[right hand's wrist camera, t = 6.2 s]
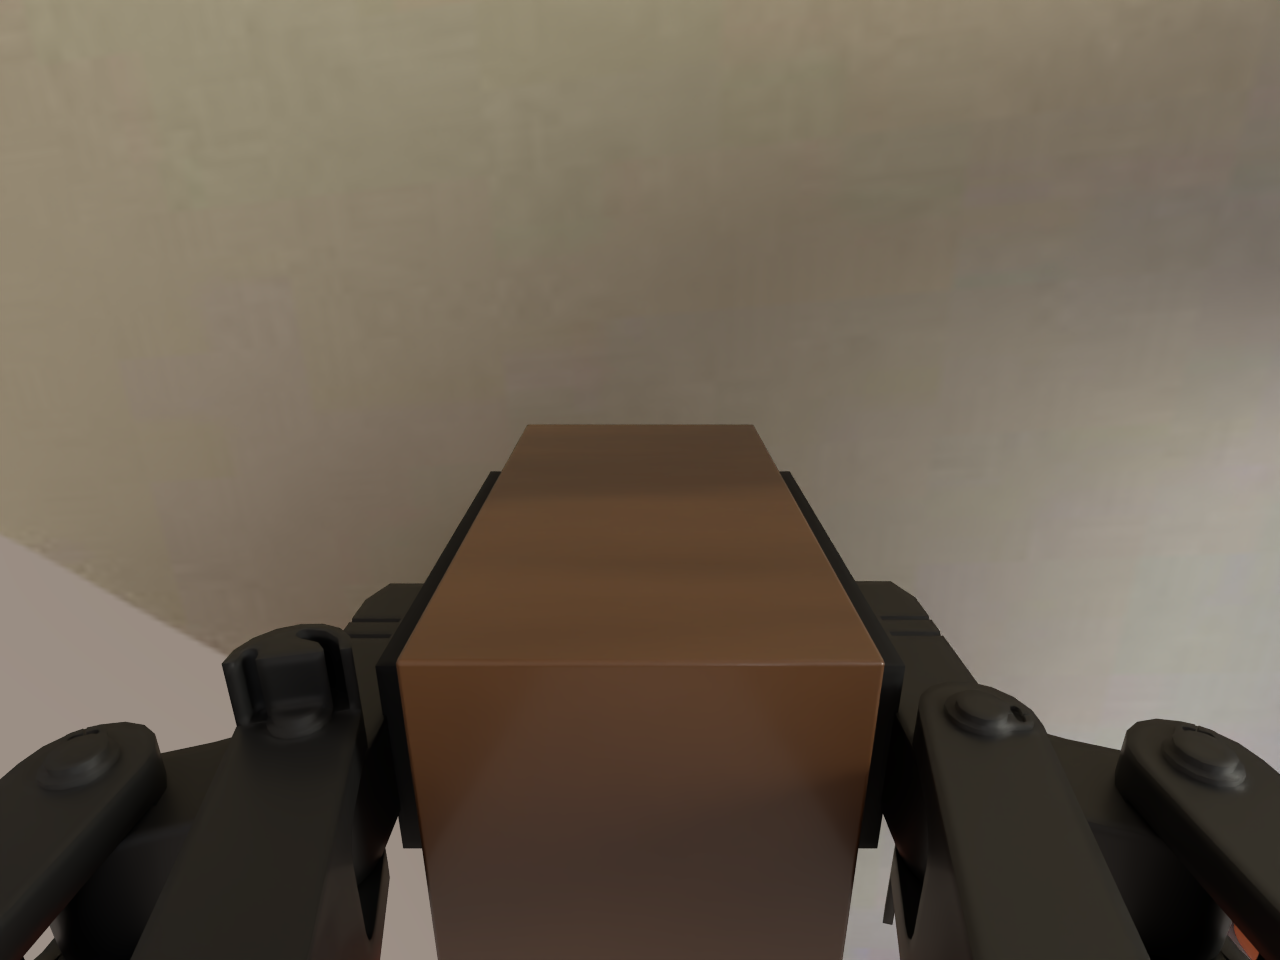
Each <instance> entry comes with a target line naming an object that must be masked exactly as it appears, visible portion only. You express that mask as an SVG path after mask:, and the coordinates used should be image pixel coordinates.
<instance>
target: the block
mask: <svg viewBox="0 0 1280 960" xmlns="http://www.w3.org/2000/svg"><path fill="white" fill-rule="evenodd" d="M884 665H885V663H884V660H883V658H882V657H881V655H880V653H879V651H878V649H877V648H876V646H875V644H874V642H873V640H872V639H871V637H870V635H869V633H868V631H867V630H866V628H865V626H864V624H863V622H862V621H861V619H860V617H859V615H858V613H857V612H856V610H855V608H854V606H853V604H852V602H851V601H850V599H849V597H848V595H847V593H846V592H845V590H844V588H843V586H842V584H841V583H840V581H839V579H838V577H837V575H836V574H835V572H834V570H833V568H832V566H831V565H830V563H829V561H828V559H827V557H826V556H825V554H824V552H823V550H822V548H821V547H820V545H819V543H818V541H817V539H816V537H815V536H814V534H813V532H812V530H811V528H810V527H809V525H808V523H807V521H806V519H805V518H804V516H803V514H802V512H801V510H800V509H799V507H798V505H797V503H796V501H795V500H794V498H793V496H792V494H791V492H790V491H789V489H788V487H787V485H786V483H785V481H784V480H783V478H782V476H781V474H780V472H779V471H778V469H777V467H776V465H775V463H774V462H773V460H772V458H771V456H770V454H769V453H768V451H767V449H766V447H765V445H764V444H763V442H762V440H761V438H760V436H759V435H758V433H757V431H756V429H755V427H754V426H753V425H527V427H526V428H525V430H524V432H523V434H522V436H521V438H520V439H519V441H518V443H517V445H516V447H515V448H514V450H513V452H512V454H511V456H510V457H509V459H508V461H507V463H506V465H505V466H504V468H503V470H502V472H501V474H500V475H499V477H498V479H497V481H496V483H495V484H494V486H493V488H492V490H491V492H490V493H489V495H488V497H487V499H486V501H485V502H484V504H483V506H482V508H481V510H480V511H479V513H478V515H477V517H476V519H475V520H474V522H473V524H472V526H471V528H470V529H469V531H468V533H467V535H466V537H465V538H464V540H463V542H462V544H461V546H460V547H459V549H458V551H457V553H456V555H455V556H454V558H453V560H452V562H451V564H450V565H449V567H448V569H447V571H446V573H445V574H444V576H443V578H442V580H441V582H440V583H439V585H438V587H437V589H436V591H435V593H434V594H433V596H432V598H431V600H430V602H429V603H428V605H427V607H426V609H425V611H424V612H423V614H422V616H421V618H420V620H419V621H418V623H417V625H416V627H415V629H414V630H413V632H412V634H411V636H410V638H409V639H408V641H407V643H406V645H405V647H404V648H403V650H402V652H401V654H400V656H399V657H398V659H397V662H396V668H397V675H398V682H399V689H400V696H401V703H402V710H403V717H404V724H405V731H406V738H407V745H408V752H409V759H410V766H411V773H412V780H413V787H414V794H415V801H416V808H417V815H418V823H419V830H420V837H421V844H422V851H423V858H424V865H425V872H426V879H427V886H428V893H429V900H430V907H431V914H432V921H433V928H434V935H435V942H436V949H437V956H438V960H842V959H843V952H844V945H845V938H846V931H847V924H848V917H849V910H850V903H851V896H852V889H853V882H854V875H855V868H856V861H857V854H858V847H859V840H860V833H861V826H862V819H863V812H864V805H865V798H866V791H867V784H868V777H869V770H870V763H871V756H872V749H873V742H874V735H875V728H876V721H877V714H878V707H879V700H880V693H881V686H882V679H883V672H884Z"/></svg>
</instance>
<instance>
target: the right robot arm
mask: <svg viewBox="0 0 1280 960" xmlns="http://www.w3.org/2000/svg"><path fill="white" fill-rule="evenodd" d="M500 474H501V472H490V474H489V475H488V477H487V479H486V481H485V482H484V484H483V486H482V487H481V489H480V491H479V492H478V494H477V496H476V497H475V499H474V501H473V502H472V504H471V506H470V507H469V509H468V511H467V512H466V514H465V516H464V517H463V519H462V521H461V522H460V524H459V526H458V528H457V529H456V531H455V533H454V534H453V536H452V538H451V539H450V541H449V543H448V544H447V546H446V548H445V549H444V551H443V553H442V554H441V556H440V558H439V559H438V561H437V563H436V564H435V566H434V568H433V570H432V571H431V573H430V575H429V576H428V578H427V580H426V581H425V583H424V584H389V585H387V586H386V587H384V588H383V589H381V590H380V591H378V592H377V593H375V594H374V595H372V596H371V597H369V598H368V599H366V600H365V602H364V603H363V604H362V606H361V607H360V609H359V610H358V611H357V613H356V614H355V615H354V617H353V618H352V622H349V624H348V625H347V626H346V628H345V629H344V631H343V630H342V629H340V628H338V627H334V626H329V625H325V624H299V625H294V626H289V627H285V628H280V629H276V630H273V631H270V632H268V633H265V634H262V635H260V636H257V637H255V638H253V639H251V640H249V641H248V642H246V643H244V644H243V645H241V646H240V647H238V648H236V649H235V650H234V651H233V652H232V653H231V654H230V655H229V656H228V657H227V658H226V659H225V661H224V662H223V663H222V667H223V671H224V675H225V679H226V684H227V688H228V692H229V696H230V700H231V704H232V708H233V712H234V716H235V720H236V725H237V727H236V729H235V731H234V734H233V736H232V737H231V738H228V739H224V740H221V741H217V742H213V743H208V744H203V745H199V746H194V747H189V748H185V749H180V750H175V751H170V752H166V753H160V750H159V746H158V743H157V739H156V736H155V734H154V733H153V732H152V731H151V730H150V729H148V728H147V727H146V726H145V725H141V724H135V723H129V722H119V723H110V724H101V725H97V726H92V727H88V728H87V729H81V730H78V731H75V732H72V733H70V734H68V735H66V736H64V737H62V738H60V739H58V740H56V741H54V742H52V743H50V744H47V745H45V746H43V747H42V748H40V749H39V750H37V751H36V752H34V753H33V754H32V755H30V756H29V757H27V758H26V759H24V760H23V761H22V762H20V763H19V764H18V765H16V766H15V767H14V768H13V769H12V770H11V771H9V772H8V773H7V774H6V775H5V776H4V777H2V778H1V779H0V960H25V959H24V957H23V956H24V955H25V954H26V952H27V951H28V950H29V949H30V948H31V947H32V945H33V944H34V943H35V942H36V941H37V939H38V938H39V937H40V936H41V935H42V934H43V932H44V931H45V930H46V929H47V928H48V927H49V925H50V928H51V930H52V932H53V935H54V937H55V938H54V939H53V940H52V941H51V942H50V944H49V945H48V946H47V947H46V948H45V950H44V951H43V952H42V953H41V954H40V955H39V956H38V957H36V958H35V959H34V960H380V955H381V946H382V938H383V929H384V921H385V913H386V904H387V896H388V887H389V879H390V876H389V869H388V861H387V855H386V849H385V847H386V844H387V842H388V840H389V837H390V835H391V832H392V830H393V827H394V825H395V822H396V820H397V817H399V824H400V830H401V836H402V843H403V848H422V844H421V837H420V830H419V823H418V815H417V808H416V801H415V794H414V787H413V780H412V773H411V766H410V759H409V752H408V745H407V738H406V731H405V724H404V717H403V710H402V703H401V696H400V689H399V682H398V675H397V668H396V662H397V659H398V657H399V656H400V654H401V652H402V650H403V648H404V647H405V645H406V643H407V641H408V639H409V638H410V636H411V634H412V632H413V630H414V629H415V627H416V625H417V623H418V621H419V620H420V618H421V616H422V614H423V612H424V611H425V609H426V607H427V605H428V603H429V602H430V600H431V598H432V596H433V594H434V593H435V591H436V589H437V587H438V585H439V583H440V582H441V580H442V578H443V576H444V574H445V573H446V571H447V569H448V567H449V565H450V564H451V562H452V560H453V558H454V556H455V555H456V553H457V551H458V549H459V547H460V546H461V544H462V542H463V540H464V538H465V537H466V535H467V533H468V531H469V529H470V528H471V526H472V524H473V522H474V520H475V519H476V517H477V515H478V513H479V511H480V510H481V508H482V506H483V504H484V502H485V501H486V499H487V497H488V495H489V493H490V492H491V490H492V488H493V486H494V484H495V483H496V481H497V479H498V477H499V475H500ZM780 474H781V476H782V478H783V480H784V481H785V483H786V485H787V487H788V489H789V491H790V492H791V494H792V496H793V498H794V500H795V501H796V503H797V505H798V507H799V509H800V510H801V512H802V514H803V516H804V518H805V519H806V521H807V523H808V525H809V527H810V528H811V530H812V532H813V534H814V536H815V537H816V539H817V541H818V543H819V545H820V547H821V548H822V550H823V552H824V554H825V556H826V557H827V559H828V561H829V563H830V565H831V566H832V568H833V570H834V572H835V574H836V575H837V577H838V579H839V581H840V583H841V584H842V586H843V588H844V590H845V592H846V593H847V595H848V597H849V599H850V601H851V602H852V604H853V606H854V608H855V610H856V612H857V613H858V615H859V617H860V619H861V621H862V622H863V624H864V626H865V628H866V630H867V631H868V633H869V635H870V637H871V639H872V640H873V642H874V644H875V646H876V648H877V649H878V651H879V653H880V655H881V657H882V658H883V660H884V663H885V665H884V672H883V679H882V686H881V693H880V700H879V707H878V714H877V721H876V728H875V735H874V742H873V749H872V756H871V763H870V770H869V777H868V784H867V791H866V798H865V805H864V812H863V819H862V826H861V833H860V840H859V847H858V848H877V847H878V840H879V834H880V827H881V821H882V814H883V815H884V817H885V820H886V822H887V825H888V827H889V830H890V832H891V835H892V837H893V839H894V842H895V849H894V855H893V861H892V867H891V873H890V879H889V885H888V891H887V897H886V903H885V910H884V917H883V923H886V924H891V925H892V924H893V918H894V912H895V920H896V928H897V936H898V945H899V953H900V960H1250V959H1249V958H1248V957H1247V956H1246V955H1245V954H1244V953H1243V952H1242V951H1241V950H1239V948H1238V947H1237V946H1236V945H1235V944H1234V942H1233V941H1232V940H1231V939H1230V938H1229V936H1228V935H1227V934H1228V932H1229V929H1230V927H1231V925H1232V922H1233V923H1234V924H1235V925H1236V926H1237V928H1238V929H1239V930H1240V931H1241V932H1242V933H1243V935H1244V936H1245V937H1246V938H1247V939H1248V940H1249V942H1250V943H1251V944H1252V945H1253V946H1254V947H1255V949H1256V950H1257V951H1258V952H1259V954H1258V957H1257V959H1256V960H1280V774H1279V773H1278V772H1277V771H1275V770H1274V769H1273V768H1272V767H1271V766H1270V765H1268V764H1267V763H1266V762H1265V761H1264V760H1262V759H1261V758H1259V757H1258V756H1256V755H1255V754H1254V753H1252V752H1251V751H1249V750H1248V749H1246V748H1245V747H1243V746H1242V745H1241V744H1239V743H1237V742H1235V741H1233V740H1231V739H1228V738H1226V737H1224V736H1222V735H1220V734H1218V733H1216V732H1215V731H1213V730H1210V729H1207V728H1204V727H1201V726H1195V724H1190V723H1186V722H1181V721H1172V720H1163V719H1152V720H1146V721H1140V722H1137V723H1135V724H1134V725H1133V726H1132V727H1131V728H1129V729H1128V730H1127V732H1126V735H1125V738H1124V742H1123V745H1122V749H1121V750H1116V749H1111V748H1106V747H1102V746H1097V745H1092V744H1087V743H1082V742H1078V741H1073V740H1068V739H1064V738H1061V737H1057V736H1053V735H1050V734H1047V732H1046V730H1045V728H1044V726H1043V724H1042V723H1041V722H1040V720H1039V719H1038V718H1037V716H1036V715H1035V714H1034V712H1033V711H1032V710H1031V709H1029V708H1028V707H1027V706H1025V705H1024V704H1023V703H1021V702H1020V701H1018V700H1017V699H1016V698H1014V697H1012V696H1010V695H1008V694H1006V693H1003V692H1001V691H999V690H997V689H994V688H992V687H989V686H984V685H980V684H978V683H977V682H976V680H975V679H974V678H973V676H972V675H971V673H970V672H969V671H968V669H967V668H966V667H965V665H964V664H963V662H962V661H961V660H960V658H959V657H958V656H957V654H956V653H955V651H954V650H953V649H952V647H951V646H950V645H949V643H948V642H947V641H946V639H945V638H944V636H940V631H939V630H938V628H937V627H936V625H935V624H934V623H933V621H932V620H929V616H928V614H927V613H926V612H925V610H924V609H923V608H922V606H921V605H920V604H919V602H918V601H917V599H916V598H915V597H914V596H912V595H911V594H909V593H908V592H906V591H904V590H903V589H901V588H900V587H898V586H897V585H895V584H894V583H892V582H891V581H855V580H854V579H853V577H852V575H851V574H850V572H849V570H848V569H847V567H846V565H845V564H844V562H843V560H842V558H841V557H840V555H839V553H838V552H837V550H836V548H835V547H834V545H833V543H832V542H831V540H830V538H829V537H828V535H827V533H826V532H825V530H824V528H823V527H822V525H821V523H820V522H819V520H818V518H817V517H816V515H815V513H814V511H813V510H812V508H811V506H810V505H809V503H808V501H807V500H806V498H805V496H804V495H803V493H802V491H801V490H800V488H799V486H798V485H797V483H796V481H795V480H794V478H793V476H792V475H791V473H790V472H780Z"/></svg>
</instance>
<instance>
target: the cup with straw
mask: <svg viewBox="0 0 1280 960" xmlns="http://www.w3.org/2000/svg"><path fill="white" fill-rule="evenodd" d="M1234 931H1235V935H1236V937H1237V939H1238V942H1239V943H1240V945H1241V946H1242V948H1243V949H1244V950H1245V952H1246V953H1247V955H1248V956H1249V958H1250V959H1251V960H1256V959H1257V957H1258V954H1259V952H1258V951H1257V950H1256V949H1255V947H1254V946H1253V945H1252V944H1251V943H1250V942H1249V940H1248V939H1247V938H1246V937H1245V936H1244V935H1243V933H1242V932H1241V931H1240V930H1239V929H1238V928H1237V926H1236V925H1235V924H1234Z"/></svg>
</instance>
